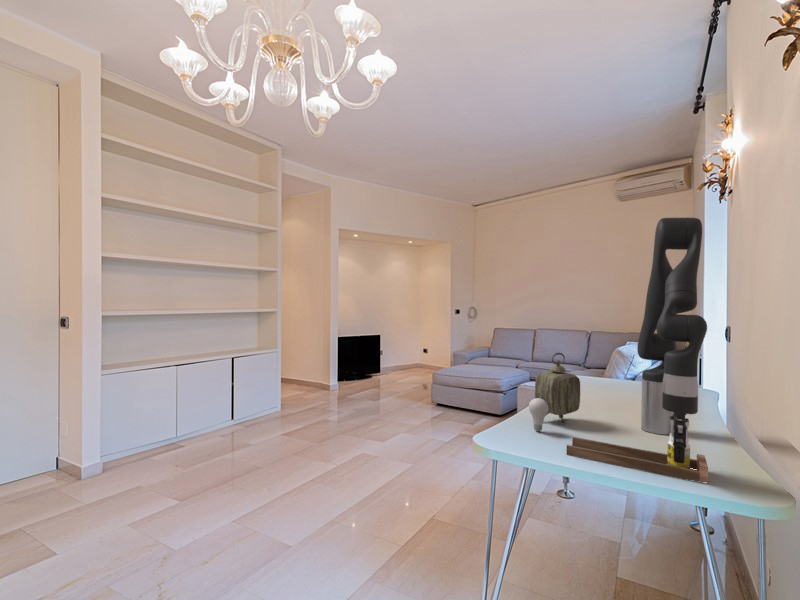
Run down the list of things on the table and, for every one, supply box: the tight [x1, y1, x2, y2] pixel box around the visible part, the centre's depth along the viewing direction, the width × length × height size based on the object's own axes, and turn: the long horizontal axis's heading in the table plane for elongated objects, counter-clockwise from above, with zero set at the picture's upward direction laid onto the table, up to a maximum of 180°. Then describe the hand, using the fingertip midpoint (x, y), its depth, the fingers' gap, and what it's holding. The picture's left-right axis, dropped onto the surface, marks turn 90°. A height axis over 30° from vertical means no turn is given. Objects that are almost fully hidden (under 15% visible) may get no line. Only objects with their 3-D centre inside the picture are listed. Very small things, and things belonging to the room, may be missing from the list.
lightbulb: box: [528, 397, 548, 433], centre depth 134 cm, size 6×6×11 cm
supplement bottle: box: [666, 433, 691, 469], centre depth 104 cm, size 5×5×8 cm
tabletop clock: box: [534, 352, 581, 425], centre depth 146 cm, size 14×9×25 cm, turn 121°
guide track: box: [566, 436, 709, 484], centre depth 109 cm, size 10×32×4 cm, turn 57°
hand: (678, 458), depth 104 cm, fingers closed on supplement bottle, 4 cm apart
